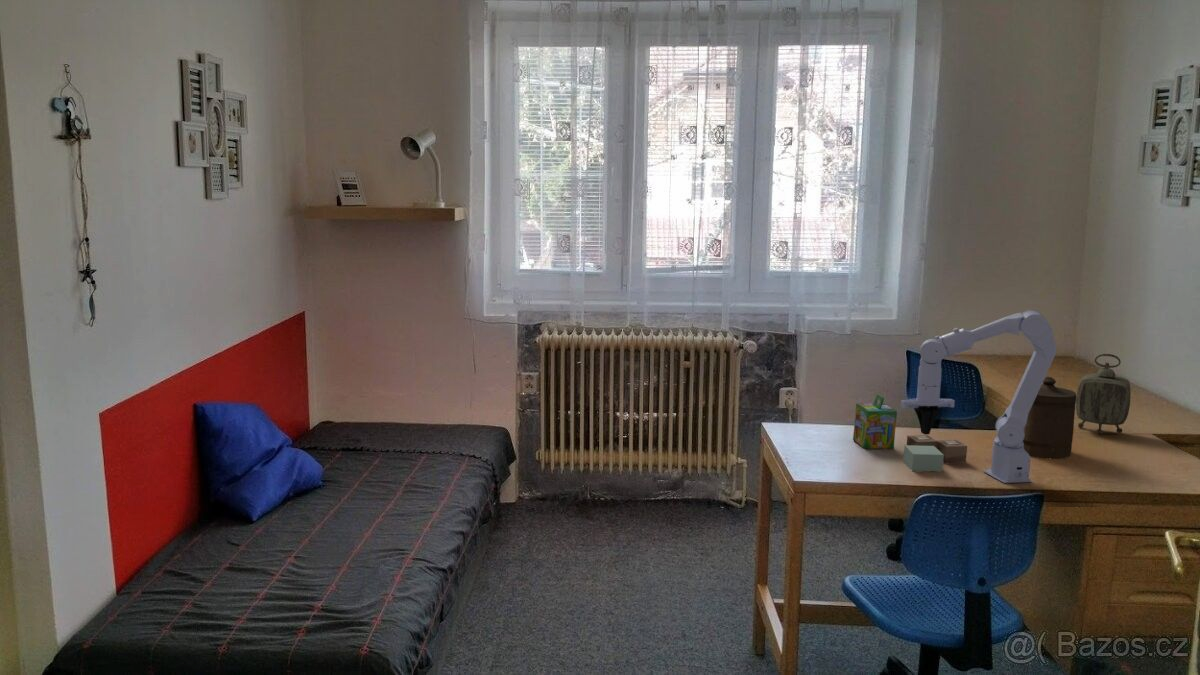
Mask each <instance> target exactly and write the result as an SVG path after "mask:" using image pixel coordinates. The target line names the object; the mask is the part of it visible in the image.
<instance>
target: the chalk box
mask: <svg viewBox="0 0 1200 675" xmlns="http://www.w3.org/2000/svg"><path fill="white" fill-rule="evenodd" d="M878 400H879V403H878ZM884 400H885V397H883V396H881V395H879V394H876V396H875V399H874V401H873V403H856V404H855V415H854V425H853V436H852V440H853V442H855V443H857V444H858V445H859V446H860V447H862V448H863V449H864V450H875V449H876V450H877V449H879V450H880V449H881V450H884V449H885V450H888V449H889V450H894V448H895V438H896V428H897V427H896V426H897V416H898V415H897V414H898V413H897V409H894V408H892V406H890V405H888V404H887V403H884Z"/></svg>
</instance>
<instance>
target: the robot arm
mask: <svg viewBox="0 0 1200 675" xmlns="http://www.w3.org/2000/svg"><path fill="white" fill-rule="evenodd" d="M1020 332H1021V334H1023V336H1025V338H1026V339H1028V341H1029V342H1030V344H1031V346H1032V348H1033V350H1034V351H1033V353H1032V354H1031V357H1030V359H1029V362H1028V364H1027V365H1026V368H1025V371H1024V373H1023V375H1022V377H1021V379H1020V382H1019V384H1018V386H1017V388H1016V390H1015V392H1014V395H1013V397H1012V398H1011V401H1010V404H1009V405H1008V406H1007V408H1006V409H1005V411H1004V413H1003V414H1002V415H1001V416H1000V417H999V418H997V420H996V422H995V426H994V427H995V431H996V432H997V433H996V434H997V436H996V437H995V438H994V439H993V441H992V442H993V444H992V454H991V464H990V469H983V472H984V473H985V474H986V475H989V476H991V477H992V478H994V479H996V480H998V481H1000V482H1001V483H1004V484H1010V483H1011V484H1012V483H1013V484H1014V483H1032V479H1031V478H1030V469H1031V456H1029V454H1028V453H1027V452H1026V451H1025V450H1024V446H1023V445H1024V443H1023V439H1024V435H1025V434H1024V428H1025V425H1026V423H1027V418H1028V413H1029V411H1030V409H1031V407H1032V405H1033V403H1034V400H1035V398H1036V396H1037V394H1038V392H1039V389H1040V387H1041V385H1042V384H1043V381H1044V379H1045V378H1046V377H1047V374H1048V372H1049V369H1050V368H1051V366H1052V364H1053V361H1054V359H1055V357H1056V354H1057V350H1058V349H1057V345H1056V341H1055V340H1056V339H1055V335H1054V331H1053V327H1052V326H1051V324H1050V323H1049V321H1048V320H1047V319H1046V317H1044V315H1043V314H1042V313H1041V312H1040V311H1038V310H1035V309H1028V310H1025V311H1023V312H1022V313H1021V312H1017V313H1012V314H1010V315H1007V316H1005V317H1002V318H999V319H997V320H994V321H992V322H990V323H987V324H984V325H981V326H979V327H977V328H975V329H972V330H968V329H965V328H964V327H963V328H961V329H959V328H958V327H955V328H953V329H952V332H948V333H946V334H943V335H939V334H938V335H936V336H934V337H935V338H930V339H927V340H925V341H923V343H922V344H921V345H920V347H919V352H920V353H919V354H920V359H919V366H918V374H917V375H918V376H917V377H918V378H917V391H916V398H911V399H910V398H909V399H902V400H901V399H900V406H899V407H900V408H901V409H903V410H905V409H913V410H914V412H915V413H916V416H917V419H918V422H919V428H920V433H921V434H923V435H930V433H931V430H932V428H933V425H934V424H935V422H936V420H937V418H938V416H939V415H940V414H941V409H939V408H955V399H952V398H941V396H940V395H941V383H942V382H941V381H942V360H943V359H944V357H946V358H948V357H951V356H954V355H956V354H960V353H963V352H966V351H968V350H971V349H972V348H973V346H974V344H975V343H977V342H980V341H983V340H987V339H990V338H993V337H996V336H998V335H999V336H1000V335H1003V334H1006V333H1007V334H1011V335H1017V336H1019V335H1020Z"/></svg>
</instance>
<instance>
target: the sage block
mask: <svg viewBox="0 0 1200 675" xmlns="http://www.w3.org/2000/svg"><path fill="white" fill-rule="evenodd" d="M903 449H904V450H903V460H902V461H903V462H902V463H904V464H905V466H906V467H907V466H908V467H909V468H910V469H911V470H912V471H911V470H910V469H909V468H908V467H907V468H908V469H909V470H910V471H911V472H919V471H938V472H937V473H943V470H944V469H943V467H944V463H943V458H944V455H943V454H942V453H941V452H940V451H939V450H938V449H937V448H936V447H935V446H914V445H907V444H905V445H904V448H903Z"/></svg>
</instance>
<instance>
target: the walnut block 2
mask: <svg viewBox="0 0 1200 675" xmlns="http://www.w3.org/2000/svg"><path fill="white" fill-rule="evenodd" d="M935 440H936V439H935ZM936 441H938V442H937V449H938V450H939V451H940V452H941V453H942V454H943V455H944V458H943V464H946V463H949V464H966V463H967V453H968V445H966V444H965V443H963V442H961V441H959V440H957V439H937V440H936Z"/></svg>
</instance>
